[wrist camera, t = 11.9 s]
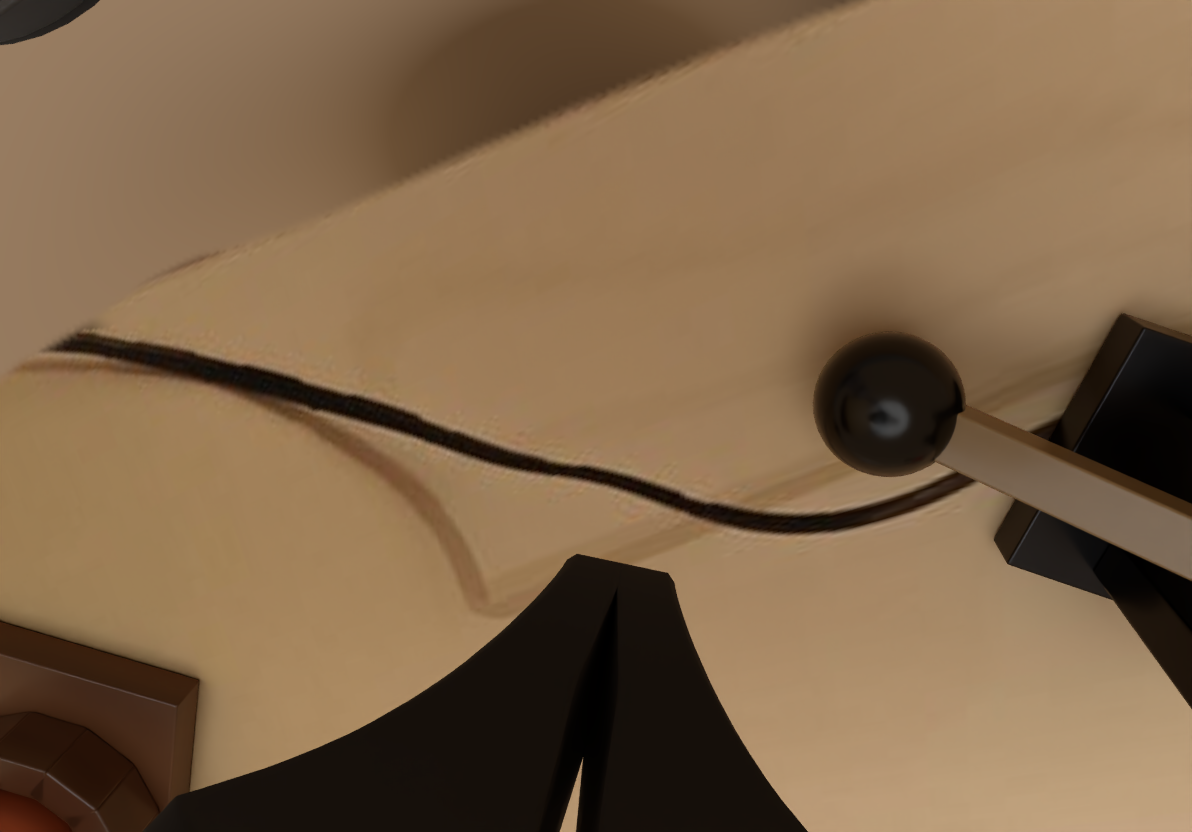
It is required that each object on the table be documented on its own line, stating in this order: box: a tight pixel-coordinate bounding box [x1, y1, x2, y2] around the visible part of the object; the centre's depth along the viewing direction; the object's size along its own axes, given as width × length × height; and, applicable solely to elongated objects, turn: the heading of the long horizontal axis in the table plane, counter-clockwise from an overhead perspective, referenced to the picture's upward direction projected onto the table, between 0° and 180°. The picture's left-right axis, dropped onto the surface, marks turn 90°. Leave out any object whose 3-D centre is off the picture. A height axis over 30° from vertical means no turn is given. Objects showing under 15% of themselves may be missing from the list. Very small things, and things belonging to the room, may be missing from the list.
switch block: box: [0, 622, 199, 832], centre depth 28 cm, size 10×7×3 cm
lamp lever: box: [813, 332, 1192, 581], centre depth 17 cm, size 12×3×3 cm, turn 73°
